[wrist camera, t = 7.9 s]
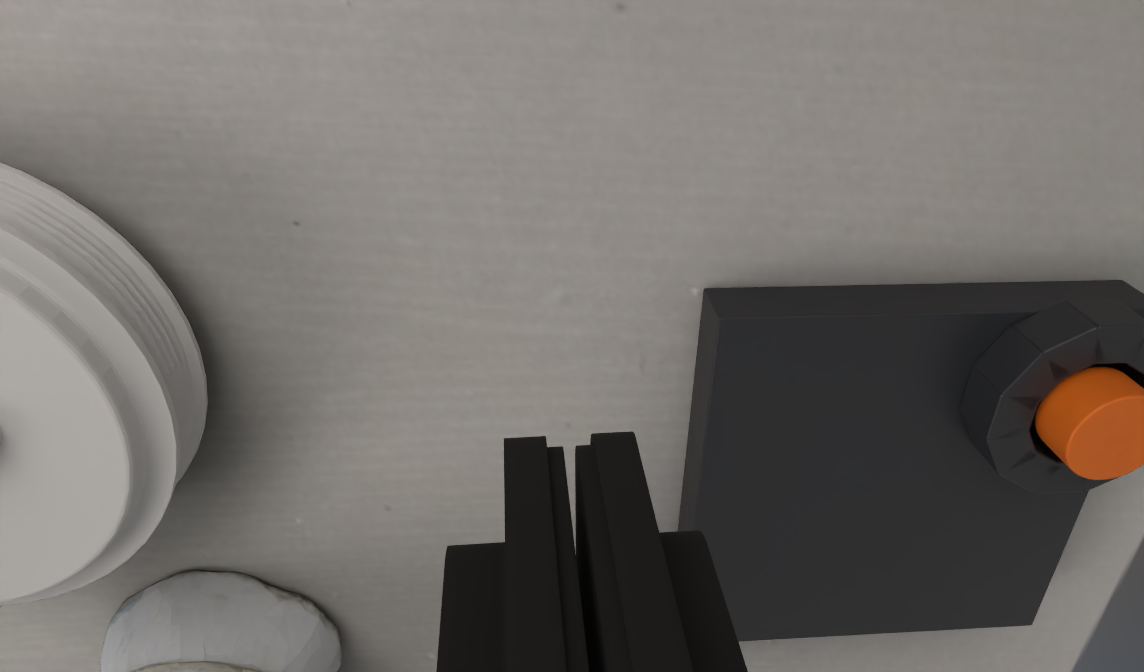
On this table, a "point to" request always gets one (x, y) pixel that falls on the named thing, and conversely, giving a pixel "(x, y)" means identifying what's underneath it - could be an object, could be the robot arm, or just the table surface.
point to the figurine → (219, 628)
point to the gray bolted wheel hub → (84, 394)
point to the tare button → (1095, 423)
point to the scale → (891, 449)
